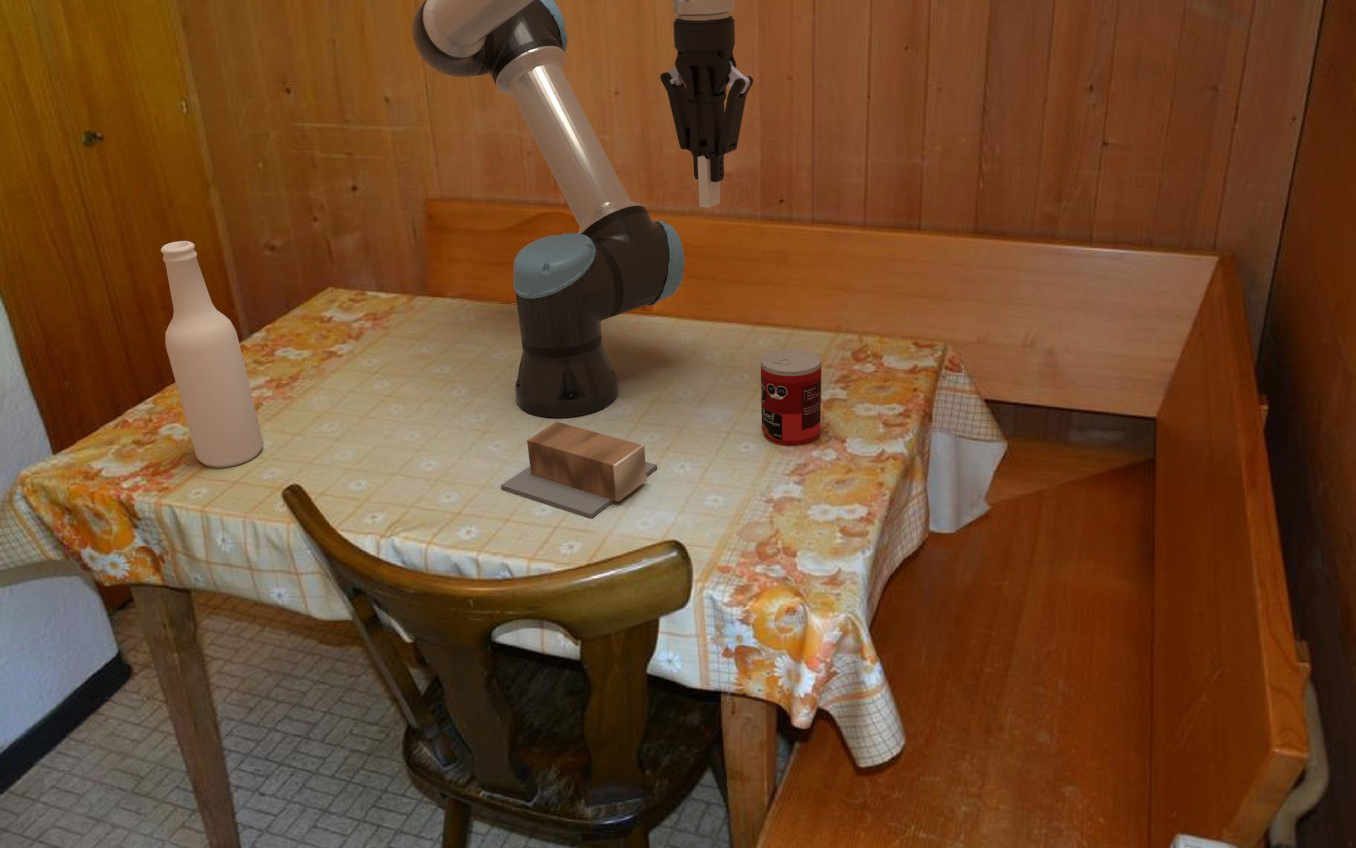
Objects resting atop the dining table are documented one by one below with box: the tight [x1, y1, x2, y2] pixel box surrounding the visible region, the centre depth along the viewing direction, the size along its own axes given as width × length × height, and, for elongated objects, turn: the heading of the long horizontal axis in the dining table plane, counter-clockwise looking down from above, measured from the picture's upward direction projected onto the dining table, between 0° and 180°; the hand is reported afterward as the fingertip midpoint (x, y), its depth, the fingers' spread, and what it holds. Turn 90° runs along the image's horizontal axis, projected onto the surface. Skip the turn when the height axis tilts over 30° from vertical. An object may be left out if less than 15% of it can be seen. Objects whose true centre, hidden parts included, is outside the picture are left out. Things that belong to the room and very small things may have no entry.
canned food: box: [760, 348, 822, 447], centre depth 147 cm, size 8×8×11 cm
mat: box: [500, 461, 658, 519], centre depth 141 cm, size 14×14×1 cm
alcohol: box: [160, 240, 264, 469], centre depth 145 cm, size 9×9×30 cm
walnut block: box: [526, 421, 648, 502], centre depth 139 cm, size 5×6×14 cm
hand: (709, 204), depth 145 cm, fingers closed
